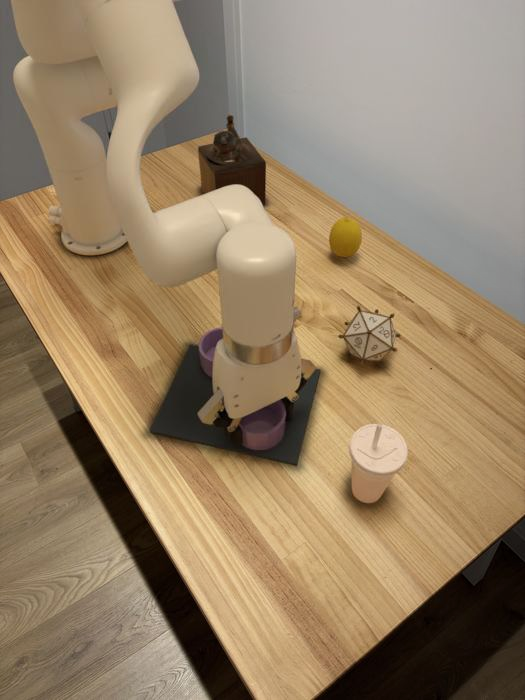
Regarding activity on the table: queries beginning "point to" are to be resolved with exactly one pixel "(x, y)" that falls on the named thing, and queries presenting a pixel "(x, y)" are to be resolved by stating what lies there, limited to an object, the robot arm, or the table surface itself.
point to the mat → (195, 392)
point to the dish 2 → (264, 427)
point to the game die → (370, 336)
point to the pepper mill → (232, 163)
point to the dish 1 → (209, 349)
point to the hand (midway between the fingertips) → (259, 425)
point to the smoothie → (375, 460)
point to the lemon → (345, 237)
